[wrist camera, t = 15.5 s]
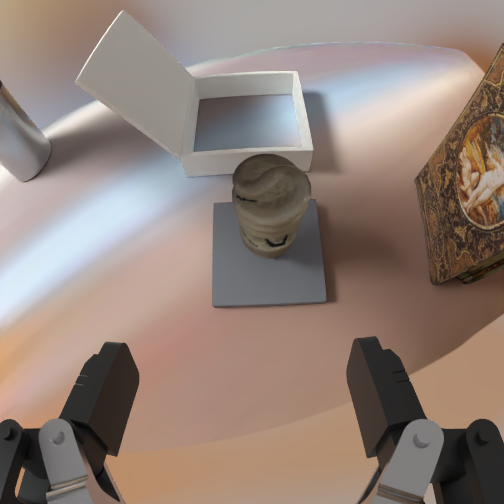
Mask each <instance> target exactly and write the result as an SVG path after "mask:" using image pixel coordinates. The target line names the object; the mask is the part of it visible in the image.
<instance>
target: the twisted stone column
mask: <svg viewBox="0 0 504 504" xmlns="http://www.w3.org/2000/svg"><path fill="white" fill-rule="evenodd" d="M233 185H234V187H233V190H232V200H233V204H234V209H235V213H236V215H237V219H238V222H239V227H240V235H241V238H242V241H243V243H244V245H245V246H246V248H247V249H248V250H249V251H250V252H251V253H253V254H254V255H256V256H258V257H261V258H267V259H269V258H276V257H279V256H281V255H283V254H284V253H285V252H287V251H288V250H289V249H290V247H291V246H292V244H293V242H294V240H295V238H296V235H297V231H298V227H299V225H300V224H301V221H302V217H303V214H304V213H305V211H306V208H307V206H308V203H309V199H310V195H311V185H310V181H309V179H308V177H307V175H306V174H305V173H304V172H303V171H302V170H300V169H299V168H298V167H296V166H295V165H294V164H293V163H292V162H291V161H289V160H288V159H286V158H284V157H282V156H279V155H275V154H258V155H254V156H251V157H249V158H247V159H245V160H244V161H242V162H241V163H240V164H239V165H238V166H237V168H236V169H235V171H234V174H233Z"/></svg>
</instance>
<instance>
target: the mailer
mask: <svg viewBox="0 0 504 504" xmlns="http://www.w3.org/2000/svg"><path fill="white" fill-rule="evenodd" d="M75 84H76V85H78V86H79V87H81V88H82V89H83V90H85V91H86V92H87V93H89V94H90V95H92V96H93V97H95V98H96V99H97V100H99V101H100V102H101V103H103V104H104V105H106V106H107V107H108V108H110V109H111V110H112V111H114V112H115V113H117V114H118V115H119V116H121V117H122V118H123V119H125V120H126V121H127V122H129V123H130V124H131V125H133V126H134V127H136V128H137V129H138V130H140V131H141V132H142V133H144V134H145V135H146V136H148V137H149V138H150V139H152V140H153V141H154V142H156V143H157V144H158V145H160V146H161V147H162V148H164V149H165V150H166V151H168V152H169V153H170V154H171V155H173V156H174V157H175V158H179V160H180V162H181V165H182V167H183V170H184V172H185V174H186V177H197V176H210V175H224V174H234V171H235V169H236V168H237V166H238V165H239V164H240V163H241V162H242V161H244V160H245V159H247V158H249V157H251V156H254V155H258V154H275V155H279V156H282V157H284V158H286V159H288V160H289V161H291V162H292V163H293V164H294V165H295V166H296V167H298V168H299V169H300V170H302V171H309V170H310V165H311V160H312V156H313V151H314V150H313V144H312V139H311V134H310V128H309V123H308V118H307V113H306V108H305V104H304V99H303V94H302V90H301V85H300V81H299V77H298V72H297V71H264V72H242V73H228V74H216V75H207V76H198V77H193V76H192V75H191V74H190V73H189V72H188V71H187V70H186V69H185V68H184V67H183V66H182V65H181V64H180V63H179V62H178V61H177V60H176V59H175V58H174V57H173V56H172V55H171V54H170V53H169V52H168V51H167V50H166V49H165V48H164V47H163V46H162V45H161V44H160V43H159V42H158V41H157V40H156V39H155V38H154V37H153V36H152V35H151V34H150V33H149V32H147V31H146V30H145V29H144V28H143V27H142V26H141V25H140V24H139V23H138V22H137V21H136V20H135V19H134V18H132V17H131V16H130V15H129V14H128V13H127V12H126V11H125V10H123V11H121V12H120V13H119V15H118V16H117V17H116V19H115V20H114V21H113V23H112V24H111V25H110V27H109V28H108V30H107V31H106V33H105V34H104V35H103V37H102V38H101V40H100V41H99V43H98V44H97V46H96V47H95V49H94V50H93V52H92V54H91V55H90V57H89V59H88V60H87V62H86V63H85V65H84V67H83V69H82V70H81V72H80V74H79V75H78V77H77V79H76V81H75ZM280 94H292V96H293V102H294V107H295V113H296V119H297V125H298V131H299V137H300V143H301V147H262V148H241V149H225V150H212V151H200V152H194V142H195V133H196V124H197V115H198V107H199V100H200V99H209V98H220V97H232V96H249V95H280Z"/></svg>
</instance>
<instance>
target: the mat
mask: <svg viewBox="0 0 504 504" xmlns="http://www.w3.org/2000/svg"><path fill="white" fill-rule="evenodd" d="M326 301H327V299H326V287H325V276H324V265H323V256H322V246H321V237H320V229H319V221H318V213H317V205H316V199H309V203H308V206H307V208H306V211H305V213H304V214H303V217H302V221H301V224H300V225H299V227H298V231H297V235H296V238H295V240H294V242H293V244H292V246H291V247H290V249H289V250H288V251H287V252H285V253H284V254H283V255H281V256H279V257H276V258H269V259H267V258H261V257H258V256H256V255H254V254H253V253H251V252H250V251H249V250H248V249H247V248H246V246H245V245H244V243H243V241H242V238H241V235H240V227H239V222H238V219H237V215H236V213H235V209H234V204H233V202H226V203H214V215H213V272H212V306H213V307H214V308H228V307H261V306H284V305H303V304H320V303H325V302H326Z"/></svg>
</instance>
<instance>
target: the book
mask: <svg viewBox="0 0 504 504" xmlns="http://www.w3.org/2000/svg"><path fill="white" fill-rule="evenodd" d="M414 183H415V187H416V192H417V196H418V201H419V206H420V211H421V217H422V222H423V228H424V234H425V241H426V248H427V255H428V262H429V269H430V277H431V282H432V284H434V285H438V284H442V283H444V282H446V281H448V280H450V279H452V278H454V277H456V278H457V279H459V280H460V281H461V282H462V283H463V284H469V283H473V282H475V281H477V280H480V279H482V278H484V277H486V276H488V275H490V274H492V273H494V272H496V271H499V270H501V269H503V268H504V43H502V45H501V47H500V49H499V51H498V52H497V55H496V56H495V58H494V60H493V62H492V63H491V65H490V67H489V69H488V70H487V72H486V74H485V76H484V77H483V79H482V81H481V82H480V84H479V86H478V87H477V89H476V91H475V92H474V94H473V95H472V97H471V99H470V100H469V102H468V103H467V105H466V107H465V108H464V110H463V111H462V113H461V114H460V116H459V117H458V119H457V120H456V122H455V123H454V125H453V126H452V128H451V129H450V131H449V132H448V134H447V135H446V137H445V138H444V140H443V141H442V143H441V144H440V145H439V147H438V148H437V150H436V151H435V153H434V154H433V155H432V157H431V158H430V160H429V161H428V162H427V164H426V165H425V166H424V168H423V169H422V170H421V172H420V173H419V175H418V176H417V177H416V179H415V180H414Z"/></svg>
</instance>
